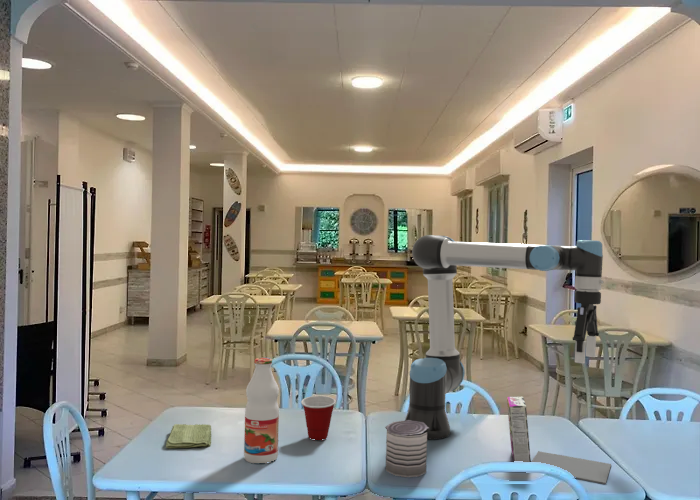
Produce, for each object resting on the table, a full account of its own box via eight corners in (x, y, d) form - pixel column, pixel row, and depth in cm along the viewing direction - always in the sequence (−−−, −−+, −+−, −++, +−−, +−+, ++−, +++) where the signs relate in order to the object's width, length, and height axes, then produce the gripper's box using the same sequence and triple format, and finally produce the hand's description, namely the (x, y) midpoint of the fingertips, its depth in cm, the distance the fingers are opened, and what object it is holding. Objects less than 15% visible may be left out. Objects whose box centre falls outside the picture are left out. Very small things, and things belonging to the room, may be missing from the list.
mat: (527, 469, 166) (527, 467, 166) (538, 452, 180) (538, 451, 180) (605, 484, 156) (605, 482, 156) (611, 465, 171) (611, 463, 171)
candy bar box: (510, 451, 181) (506, 396, 181) (527, 451, 180) (523, 396, 180) (512, 464, 170) (508, 405, 170) (531, 464, 169) (527, 405, 169)
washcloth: (164, 451, 174) (164, 440, 174) (171, 432, 192) (171, 422, 192) (210, 450, 176) (211, 439, 176) (213, 431, 194) (213, 421, 194)
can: (433, 475, 160) (434, 430, 160) (393, 479, 156) (394, 433, 156) (416, 460, 171) (418, 418, 171) (378, 463, 167) (380, 420, 167)
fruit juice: (283, 455, 172) (286, 357, 172) (267, 466, 163) (269, 363, 163) (254, 451, 175) (257, 354, 175) (237, 461, 166) (239, 360, 166)
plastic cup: (294, 440, 185) (294, 401, 185) (309, 431, 195) (310, 394, 195) (326, 445, 181) (327, 406, 181) (340, 435, 191) (341, 398, 191)
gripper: (591, 293, 172) (588, 367, 173) (609, 289, 193) (606, 355, 193) (564, 291, 177) (561, 363, 177) (584, 288, 197) (582, 352, 197)
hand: (585, 359), depth 185 cm, fingers open, 13 cm apart
